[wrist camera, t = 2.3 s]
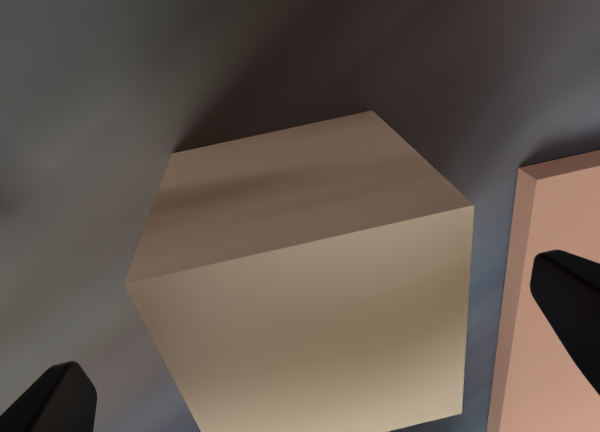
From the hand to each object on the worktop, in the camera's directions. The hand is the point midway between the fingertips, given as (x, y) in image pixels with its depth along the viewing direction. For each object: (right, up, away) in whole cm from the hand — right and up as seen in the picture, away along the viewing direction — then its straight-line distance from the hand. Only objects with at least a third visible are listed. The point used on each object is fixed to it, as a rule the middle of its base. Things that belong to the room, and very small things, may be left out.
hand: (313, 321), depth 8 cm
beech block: (-1, +2, +3) cm, 4 cm away
